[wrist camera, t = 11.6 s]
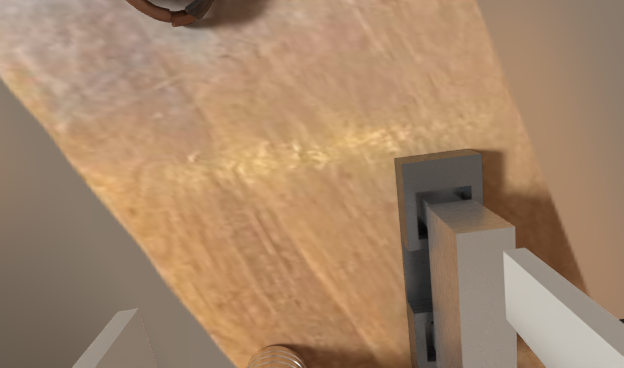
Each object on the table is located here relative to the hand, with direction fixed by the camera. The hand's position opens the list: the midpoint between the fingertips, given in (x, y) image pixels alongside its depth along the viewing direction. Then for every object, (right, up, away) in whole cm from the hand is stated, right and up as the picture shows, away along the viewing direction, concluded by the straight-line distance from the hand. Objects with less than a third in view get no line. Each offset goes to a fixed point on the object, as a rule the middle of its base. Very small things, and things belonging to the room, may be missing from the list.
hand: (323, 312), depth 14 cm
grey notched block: (+12, -4, +25) cm, 28 cm away
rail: (+12, -4, +26) cm, 29 cm away
